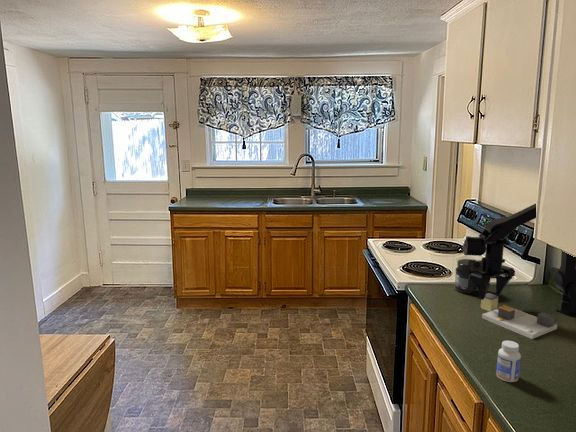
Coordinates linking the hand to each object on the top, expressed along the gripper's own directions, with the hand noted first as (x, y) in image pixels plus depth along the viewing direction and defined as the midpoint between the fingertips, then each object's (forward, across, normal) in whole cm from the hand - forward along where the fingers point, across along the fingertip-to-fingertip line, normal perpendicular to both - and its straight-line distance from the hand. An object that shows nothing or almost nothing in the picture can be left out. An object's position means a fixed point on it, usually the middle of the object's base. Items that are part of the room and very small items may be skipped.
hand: (490, 296), depth 160 cm
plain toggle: (+3, -1, +20) cm, 20 cm away
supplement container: (+5, -9, -16) cm, 19 cm away
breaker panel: (+5, +3, +13) cm, 14 cm away
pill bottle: (+5, +36, +31) cm, 48 cm away
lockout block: (+5, 0, 0) cm, 5 cm away
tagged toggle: (+3, +5, +10) cm, 11 cm away
